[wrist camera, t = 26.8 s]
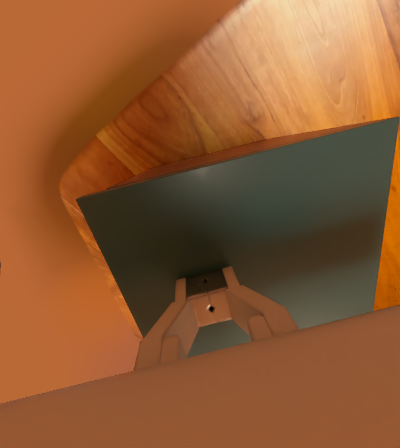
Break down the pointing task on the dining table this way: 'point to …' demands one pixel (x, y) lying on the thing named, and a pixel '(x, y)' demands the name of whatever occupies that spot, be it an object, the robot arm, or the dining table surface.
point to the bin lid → (256, 229)
